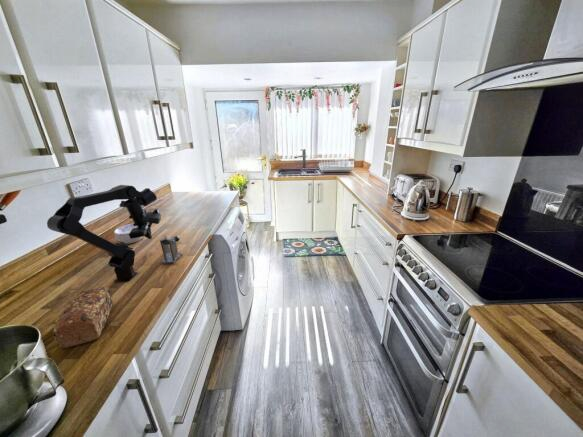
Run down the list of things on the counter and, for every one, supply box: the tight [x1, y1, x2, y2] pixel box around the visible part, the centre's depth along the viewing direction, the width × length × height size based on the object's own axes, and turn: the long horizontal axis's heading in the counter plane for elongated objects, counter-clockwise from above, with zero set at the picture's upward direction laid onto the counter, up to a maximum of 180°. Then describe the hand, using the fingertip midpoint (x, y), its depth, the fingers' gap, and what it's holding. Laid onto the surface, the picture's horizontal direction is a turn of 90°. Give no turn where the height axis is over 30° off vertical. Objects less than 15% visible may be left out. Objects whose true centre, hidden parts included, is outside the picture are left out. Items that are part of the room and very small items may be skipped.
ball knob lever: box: [164, 235, 180, 245], centre depth 121 cm, size 11×3×3 cm, turn 178°
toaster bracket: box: [159, 236, 183, 265], centre depth 118 cm, size 9×6×12 cm, turn 179°
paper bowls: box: [113, 223, 144, 244], centre depth 141 cm, size 15×15×8 cm
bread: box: [52, 286, 114, 348], centre depth 80 cm, size 19×11×10 cm, turn 22°
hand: (150, 238), depth 116 cm, fingers closed
